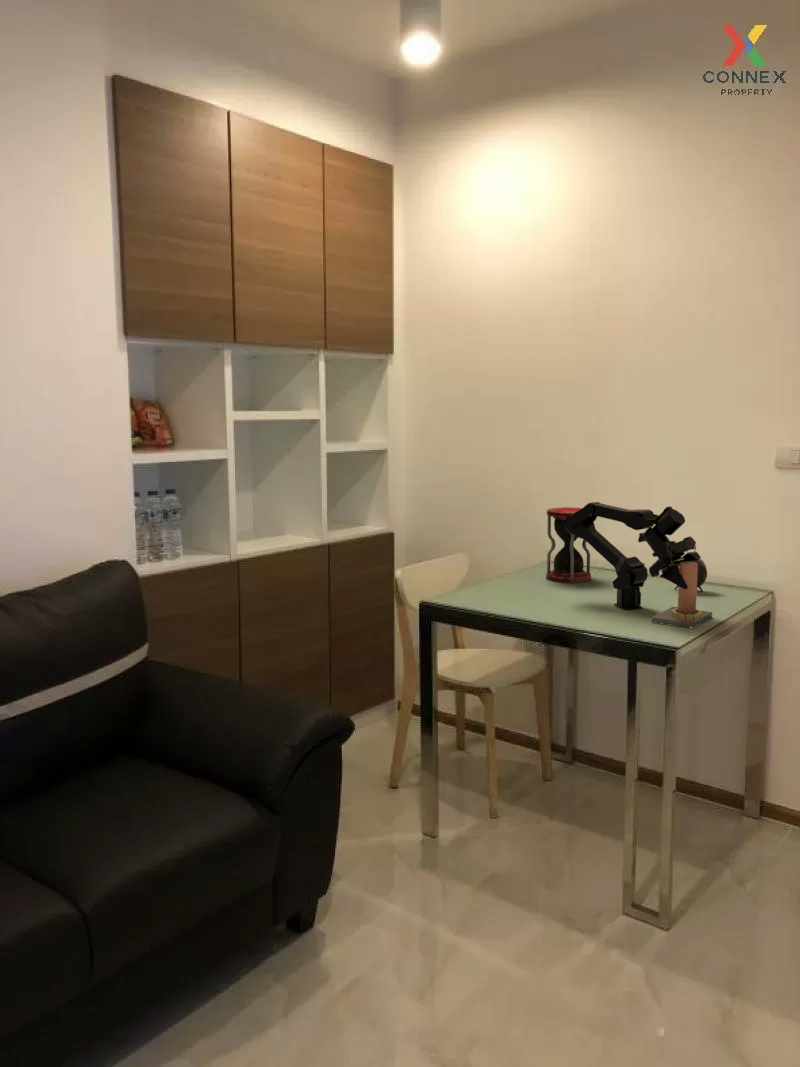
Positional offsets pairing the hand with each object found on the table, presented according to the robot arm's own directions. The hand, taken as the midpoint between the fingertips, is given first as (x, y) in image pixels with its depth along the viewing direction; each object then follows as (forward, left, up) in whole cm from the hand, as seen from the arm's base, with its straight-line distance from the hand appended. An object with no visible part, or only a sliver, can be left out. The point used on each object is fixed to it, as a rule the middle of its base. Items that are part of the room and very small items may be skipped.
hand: (691, 587), depth 256 cm
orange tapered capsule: (-1, +1, -7) cm, 7 cm away
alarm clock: (+21, +34, -10) cm, 41 cm away
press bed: (-2, +1, -10) cm, 10 cm away
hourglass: (-8, +66, -10) cm, 67 cm away
